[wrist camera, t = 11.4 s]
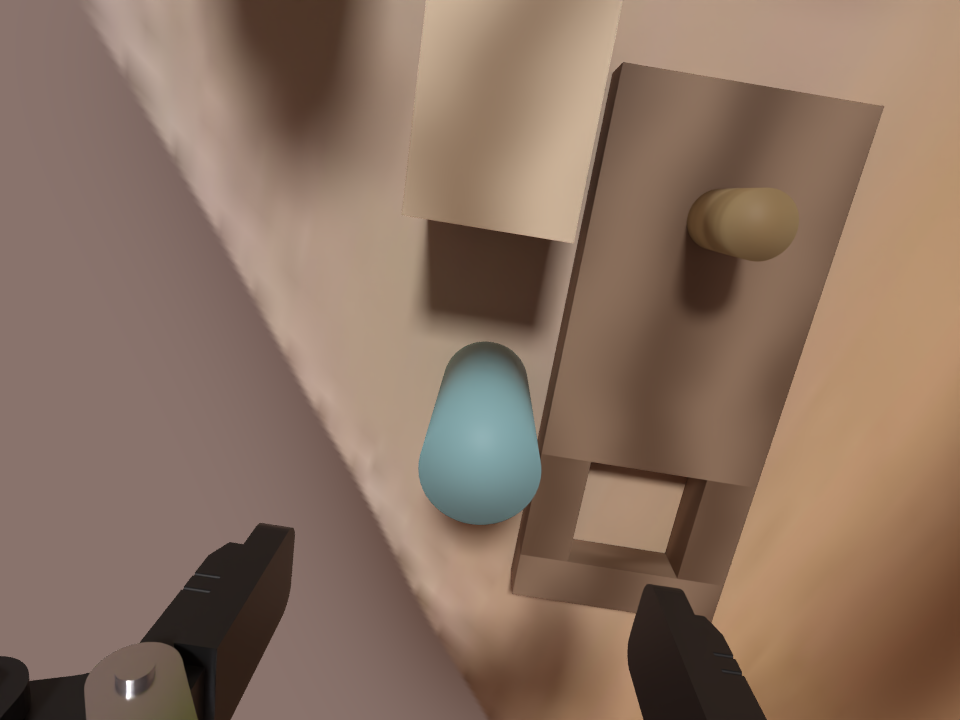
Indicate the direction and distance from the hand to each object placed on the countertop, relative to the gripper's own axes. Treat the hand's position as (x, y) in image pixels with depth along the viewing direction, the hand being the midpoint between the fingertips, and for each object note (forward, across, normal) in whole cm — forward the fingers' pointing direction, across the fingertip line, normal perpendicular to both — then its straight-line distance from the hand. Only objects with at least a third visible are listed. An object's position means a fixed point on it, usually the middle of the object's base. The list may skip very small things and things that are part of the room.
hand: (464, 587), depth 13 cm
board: (+15, -8, -2) cm, 17 cm away
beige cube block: (+15, +1, -11) cm, 18 cm away
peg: (+15, 0, 0) cm, 15 cm away
